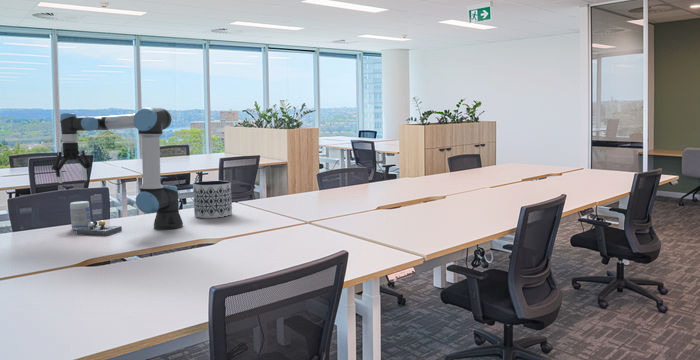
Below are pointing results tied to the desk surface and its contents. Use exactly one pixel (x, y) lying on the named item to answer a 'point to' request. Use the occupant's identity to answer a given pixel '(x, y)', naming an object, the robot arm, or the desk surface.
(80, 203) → the supplement tub
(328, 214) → the desk surface
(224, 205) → the planter
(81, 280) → the desk surface
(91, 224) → the steel ball
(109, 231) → the plate
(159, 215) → the robot arm
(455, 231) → the desk surface
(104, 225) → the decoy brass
